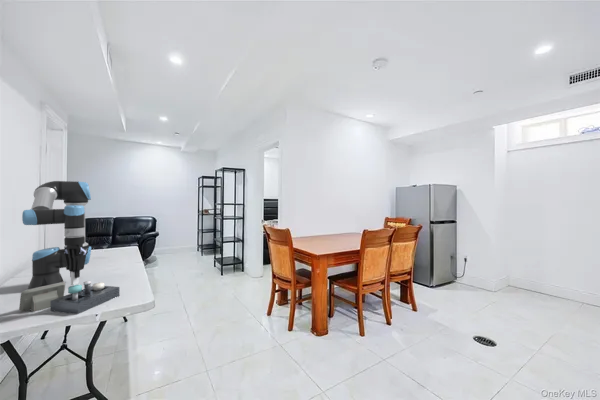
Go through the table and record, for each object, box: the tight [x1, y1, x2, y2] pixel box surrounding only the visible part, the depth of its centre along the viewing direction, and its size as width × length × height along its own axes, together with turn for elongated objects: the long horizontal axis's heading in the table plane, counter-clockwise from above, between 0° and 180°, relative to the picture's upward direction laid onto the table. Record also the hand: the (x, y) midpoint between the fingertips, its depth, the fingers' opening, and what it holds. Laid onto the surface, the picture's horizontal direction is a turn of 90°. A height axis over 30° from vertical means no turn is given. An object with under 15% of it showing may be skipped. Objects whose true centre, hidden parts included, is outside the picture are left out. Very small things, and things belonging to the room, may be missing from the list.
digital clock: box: [18, 281, 66, 313], centre depth 126 cm, size 16×9×11 cm, turn 138°
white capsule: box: [83, 280, 92, 294], centre depth 130 cm, size 3×3×6 cm
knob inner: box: [92, 281, 105, 292], centre depth 136 cm, size 5×5×7 cm
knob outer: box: [67, 284, 83, 301], centre depth 124 cm, size 5×5×7 cm
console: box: [50, 285, 120, 315], centre depth 130 cm, size 16×22×5 cm
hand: (75, 284), depth 124 cm, fingers closed
